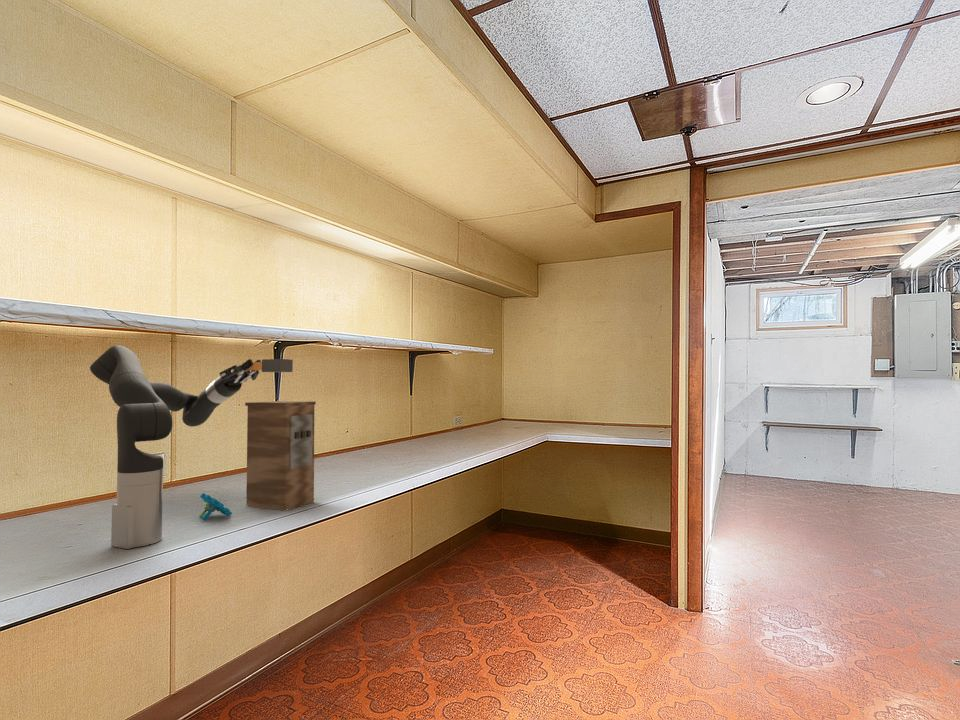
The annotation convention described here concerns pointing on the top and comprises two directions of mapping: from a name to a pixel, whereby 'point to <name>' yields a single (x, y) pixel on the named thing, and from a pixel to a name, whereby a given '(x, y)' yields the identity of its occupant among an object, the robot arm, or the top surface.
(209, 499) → the teal plastic lumpy figure
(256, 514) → the top surface
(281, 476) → the stand
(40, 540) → the top surface
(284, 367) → the block
